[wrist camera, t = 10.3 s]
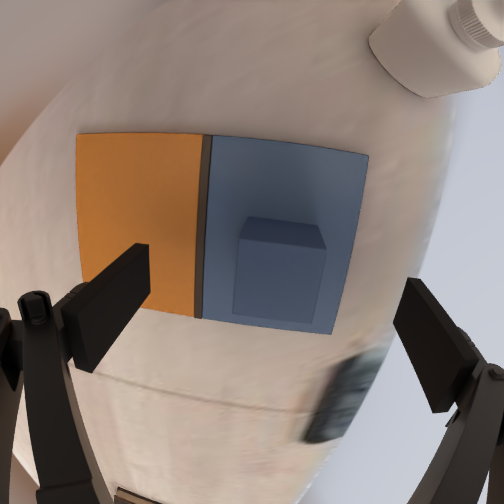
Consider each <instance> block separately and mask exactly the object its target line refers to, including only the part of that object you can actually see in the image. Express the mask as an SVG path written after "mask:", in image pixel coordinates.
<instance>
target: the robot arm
mask: <svg viewBox="0 0 504 504" xmlns="http://www.w3.org/2000/svg"><path fill="white" fill-rule="evenodd" d="M150 293H151V285H150V261H149V244H142V243H135V244H133V245H132V246H131V247H130V248H128V249H127V250H126V251H125V252H124V253H123V254H121V255H120V256H119V257H118V258H117V259H115V260H114V261H113V262H112V263H111V264H110V265H108V266H107V267H106V268H105V269H104V270H103V271H101V272H100V273H99V274H98V275H97V276H96V277H95V278H93V279H92V280H91V281H90V282H83V283H81V284H79V285H77V286H75V287H74V288H73V289H72V290H71V291H70V293H67V294H66V295H65V296H64V297H63V298H62V299H61V300H60V301H58V302H57V303H56V304H55V305H54V306H53V307H52V305H51V300H50V296H49V294H48V293H46V292H45V291H32V292H28V293H26V294H24V295H22V296H21V297H20V298H19V300H18V302H17V303H18V307H19V310H20V314H21V317H22V320H11V317H10V314H9V312H8V310H7V309H5V308H0V504H9V484H10V468H11V458H12V449H13V441H14V433H15V427H16V420H17V414H18V409H19V403H20V398H21V393H22V389H23V384H24V390H25V401H26V411H27V419H28V426H29V433H30V439H31V445H32V451H33V456H34V461H35V466H36V470H37V474H38V479H39V483H40V489H38V490H36V500H37V504H114V502H113V500H112V498H111V495H110V493H109V491H108V488H107V486H106V484H105V481H104V479H103V477H102V474H101V472H100V469H99V466H98V464H97V461H96V458H95V456H94V453H93V450H92V447H91V444H90V442H89V439H88V436H87V432H86V429H85V426H84V423H83V420H82V416H81V413H80V409H79V406H78V402H77V398H76V395H75V391H74V387H73V383H72V378H71V374H70V369H69V366H68V362H69V360H70V359H71V358H72V357H73V360H74V364H75V367H76V368H77V369H80V370H83V371H86V372H89V373H92V372H93V371H94V370H95V368H96V367H97V365H98V364H99V363H100V361H101V360H102V358H103V357H104V355H105V354H106V353H107V351H108V350H109V348H110V347H111V346H112V344H113V343H114V342H115V340H116V339H117V337H118V336H119V335H120V333H121V332H122V331H123V329H124V328H125V326H126V325H127V324H128V322H129V321H130V320H131V318H132V317H133V316H134V314H135V313H136V312H137V310H138V309H139V308H140V306H141V305H142V304H143V302H144V301H145V300H146V298H147V297H148V296H149V294H150ZM393 325H394V327H395V329H396V331H397V333H398V335H399V337H400V339H401V341H402V343H403V346H404V348H405V350H406V352H407V354H408V356H409V359H410V361H411V363H412V365H413V367H414V370H415V372H416V374H417V377H418V379H419V381H420V384H421V386H422V388H423V391H424V393H425V395H426V398H427V400H428V403H429V405H430V408H431V410H432V413H442V412H448V411H449V409H450V408H451V406H452V405H453V403H454V402H456V405H457V406H458V409H457V410H456V412H455V413H454V414H453V416H452V417H451V419H450V420H449V421H448V423H447V424H446V425H445V427H448V428H447V431H446V433H445V435H444V437H443V439H442V441H441V444H440V446H439V448H438V450H437V452H436V454H435V456H434V458H433V460H432V461H431V463H430V465H429V467H428V469H427V471H426V473H425V474H424V476H423V478H422V480H421V482H420V483H419V485H418V487H417V488H416V490H415V492H414V493H413V495H412V497H411V498H410V500H409V501H408V503H407V504H477V502H478V500H479V497H480V494H481V492H482V489H483V486H484V483H485V480H486V477H487V474H488V471H489V483H488V493H487V502H486V504H504V369H503V368H501V367H500V366H498V365H495V364H491V363H489V364H488V363H487V362H486V360H485V359H484V358H483V356H482V355H481V353H480V352H479V350H478V349H477V348H476V347H475V344H474V343H473V342H471V339H470V337H469V336H468V335H467V333H466V332H464V331H463V330H462V329H461V328H459V327H457V326H456V325H455V323H454V322H453V321H452V319H451V318H450V317H449V315H448V314H447V313H446V311H445V310H444V309H443V307H442V306H441V305H440V304H439V302H438V301H437V299H436V298H435V297H434V296H433V294H432V293H431V292H430V290H429V289H428V288H427V287H426V285H425V284H424V283H423V282H422V281H421V279H418V278H409V277H408V278H407V281H406V285H405V288H404V291H403V294H402V297H401V300H400V303H399V306H398V309H397V312H396V315H395V318H394V320H393ZM489 468H490V469H489Z"/></svg>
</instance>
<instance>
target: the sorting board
mask: <svg viewBox="0 0 504 504" xmlns="http://www.w3.org/2000/svg"><path fill="white" fill-rule="evenodd" d="M368 159H369V156H368V155H364V154H359V153H354V152H348V151H342V150H337V149H331V148H324V147H318V146H311V145H304V144H297V143H290V142H282V141H273V140H264V139H255V138H244V137H233V136H220V135H204V134H184V133H91V134H77V135H76V207H77V225H78V238H79V249H80V259H81V268H82V276H83V282H90V281H91V280H92V279H93V278H95V277H96V276H97V275H98V274H99V273H100V272H101V271H103V270H104V269H105V268H106V267H107V266H108V265H110V264H111V263H112V262H113V261H114V260H115V259H117V258H118V257H119V256H120V255H121V254H123V253H124V252H125V251H126V250H127V249H128V248H130V247H131V246H132V245H133V244H135V243H142V244H149V261H150V285H151V293H150V294H149V296H148V297H147V298H146V300H145V301H144V302H143V304H142V305H141V306H140V307H142V308H147V309H152V310H158V311H163V312H168V313H174V314H180V315H185V316H191V317H194V318H199V319H202V318H203V319H210V320H216V321H223V322H229V323H236V324H243V325H251V326H258V327H266V328H274V329H282V330H291V331H300V332H309V333H319V334H330V335H331V334H332V331H333V327H334V323H335V320H336V316H337V312H338V308H339V304H340V300H341V296H342V292H343V288H344V284H345V280H346V276H347V271H348V267H349V262H350V258H351V253H352V249H353V244H354V239H355V234H356V229H357V224H358V219H359V214H360V208H361V203H362V197H363V191H364V185H365V179H366V172H367V166H368ZM248 217H256V218H264V219H272V220H280V221H288V222H296V223H303V224H311V225H317V226H318V227H319V229H320V232H321V235H322V237H323V240H324V243H325V245H326V248H327V254H326V260H325V265H324V270H323V275H322V280H321V284H320V289H319V294H318V298H317V303H316V308H315V312H314V316H313V321H312V323H311V324H305V323H296V322H287V321H279V320H271V319H263V318H255V317H248V316H240V315H233V314H232V306H233V294H234V283H235V271H236V259H237V248H238V239H239V236H240V234H241V232H242V230H243V227H244V225H245V223H246V220H247V218H248Z"/></svg>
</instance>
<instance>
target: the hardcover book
mask: <svg viewBox="0 0 504 504" xmlns="http://www.w3.org/2000/svg"><path fill="white" fill-rule="evenodd" d="M114 504H160V503H158V502H155V501H152V500H149V499H147V498H144V497H141V496H139V495H136V494H134V493H131V492H129V491H126V490H124V489H122V488H119V487H118V490H117V496H116V495H114Z"/></svg>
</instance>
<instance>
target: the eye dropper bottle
mask: <svg viewBox="0 0 504 504" xmlns="http://www.w3.org/2000/svg"><path fill="white" fill-rule="evenodd" d="M368 40H369V45H370V47H371V49H372V51H373V53H374V54H375V56H376V58H377V59H378V60H379V62H380V63H381V64H382V66H383V67H384V68H385V69H386V70H387V71H388V73H389V74H390V75H391V76H392V77H393V78H395V79H396V80H397V81H398V82H399V83H400V84H402V85H403V86H404V87H406V88H407V89H409V90H410V91H412V92H414V93H416V94H417V95H419V96H422V97H424V98H433V97H438V96H443V95H448V94H453V93H458V92H463V91H469V90H474V89H478V88H483V87H485V86H487V85H489V84H491V82H492V81H493V80H494V79H495V78H496V76H497V75H498V74H499V72H500V70H501V66H502V63H501V57H500V54H499V51H498V48H497V47H500V46H503V45H504V0H402V1H401V2H400V3H399V4H398V5H397V6H396V7H395V9H394V10H393V11H392V12H391V13H390V14H389V15H388V16H387V17H386V18H385V19H384V20H383V21H382V23H381V24H380V25H379V26H378V27H377V28H376V29H375V30H374V31H373V33H372V34H371V35H370V37H369V39H368Z"/></svg>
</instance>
